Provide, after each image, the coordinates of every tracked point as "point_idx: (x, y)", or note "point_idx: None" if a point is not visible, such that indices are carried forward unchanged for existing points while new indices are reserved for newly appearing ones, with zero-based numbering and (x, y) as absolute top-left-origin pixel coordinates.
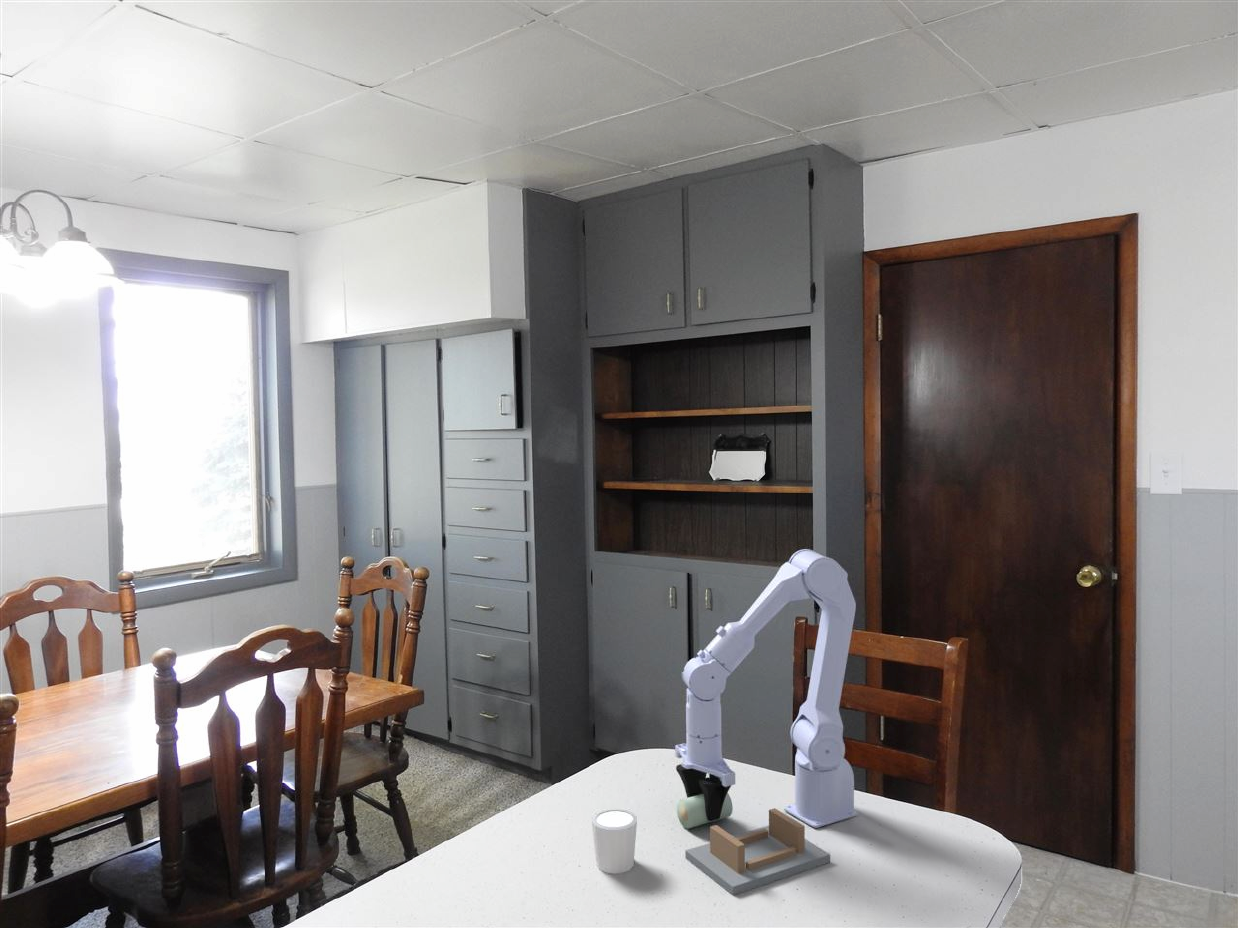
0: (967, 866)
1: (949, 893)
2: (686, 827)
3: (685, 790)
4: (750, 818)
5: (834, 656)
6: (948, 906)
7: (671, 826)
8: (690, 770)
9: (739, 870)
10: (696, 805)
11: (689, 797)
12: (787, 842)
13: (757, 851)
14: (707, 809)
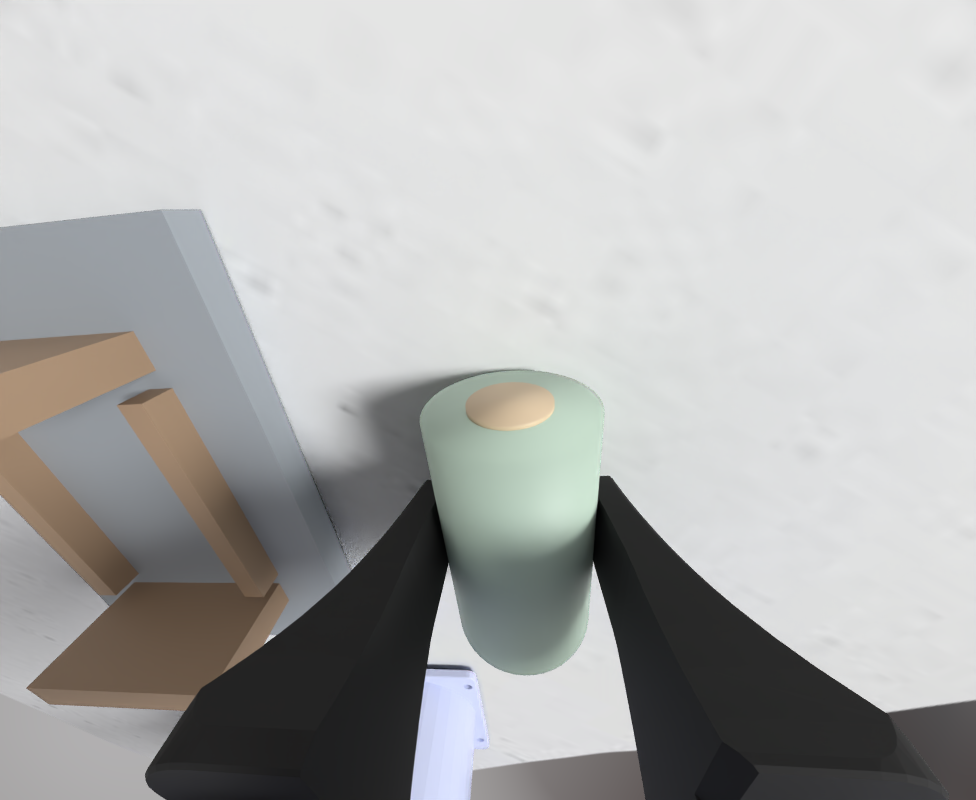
0: (139, 729)
1: (27, 675)
2: (491, 374)
3: (664, 542)
4: None
5: None
6: None
7: (570, 320)
8: (690, 785)
9: None
10: (445, 496)
11: (545, 513)
12: (173, 596)
13: (150, 500)
14: (403, 520)
